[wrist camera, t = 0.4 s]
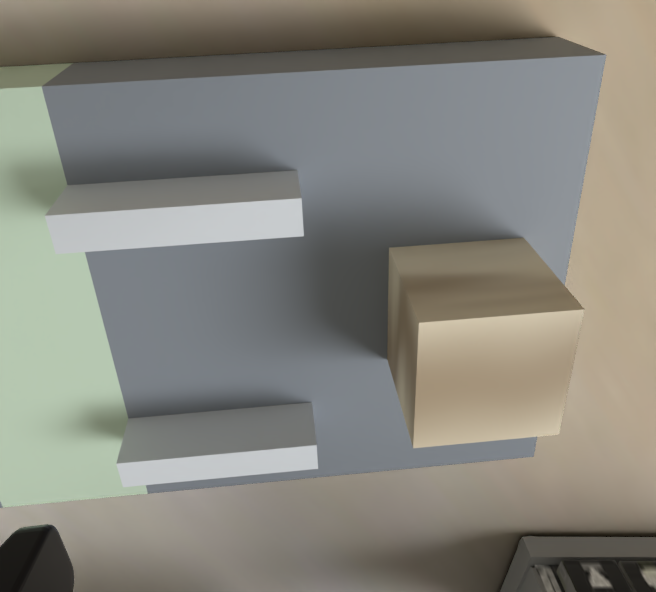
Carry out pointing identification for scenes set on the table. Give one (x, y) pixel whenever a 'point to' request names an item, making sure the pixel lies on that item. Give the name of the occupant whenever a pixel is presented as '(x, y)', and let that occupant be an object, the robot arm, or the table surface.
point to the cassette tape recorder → (583, 565)
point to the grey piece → (255, 250)
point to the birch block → (479, 341)
